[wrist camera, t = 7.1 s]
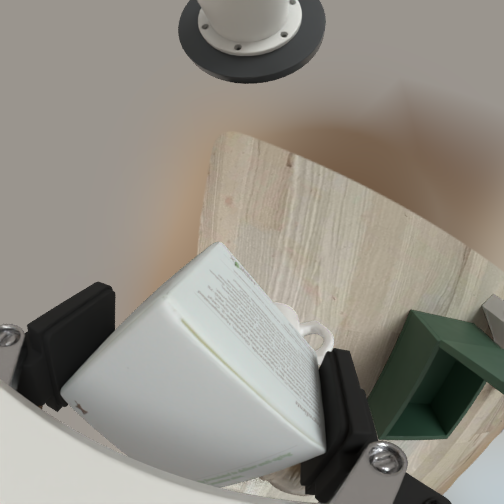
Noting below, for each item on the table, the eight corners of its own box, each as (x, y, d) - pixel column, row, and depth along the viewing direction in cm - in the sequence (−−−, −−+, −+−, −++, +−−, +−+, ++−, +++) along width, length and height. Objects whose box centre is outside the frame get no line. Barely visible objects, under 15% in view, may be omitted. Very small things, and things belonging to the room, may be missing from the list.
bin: (429, 404, 37) (447, 438, 28) (366, 399, 38) (378, 439, 29) (473, 323, 33) (503, 350, 25) (410, 309, 34) (437, 340, 25)
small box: (215, 412, 12) (185, 499, 7) (122, 321, 11) (50, 389, 6) (323, 352, 10) (337, 456, 6) (219, 234, 10) (157, 286, 5)
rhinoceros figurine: (297, 487, 41) (271, 522, 28) (264, 432, 48) (228, 453, 35) (333, 472, 40) (318, 508, 27) (300, 415, 47) (273, 435, 34)
